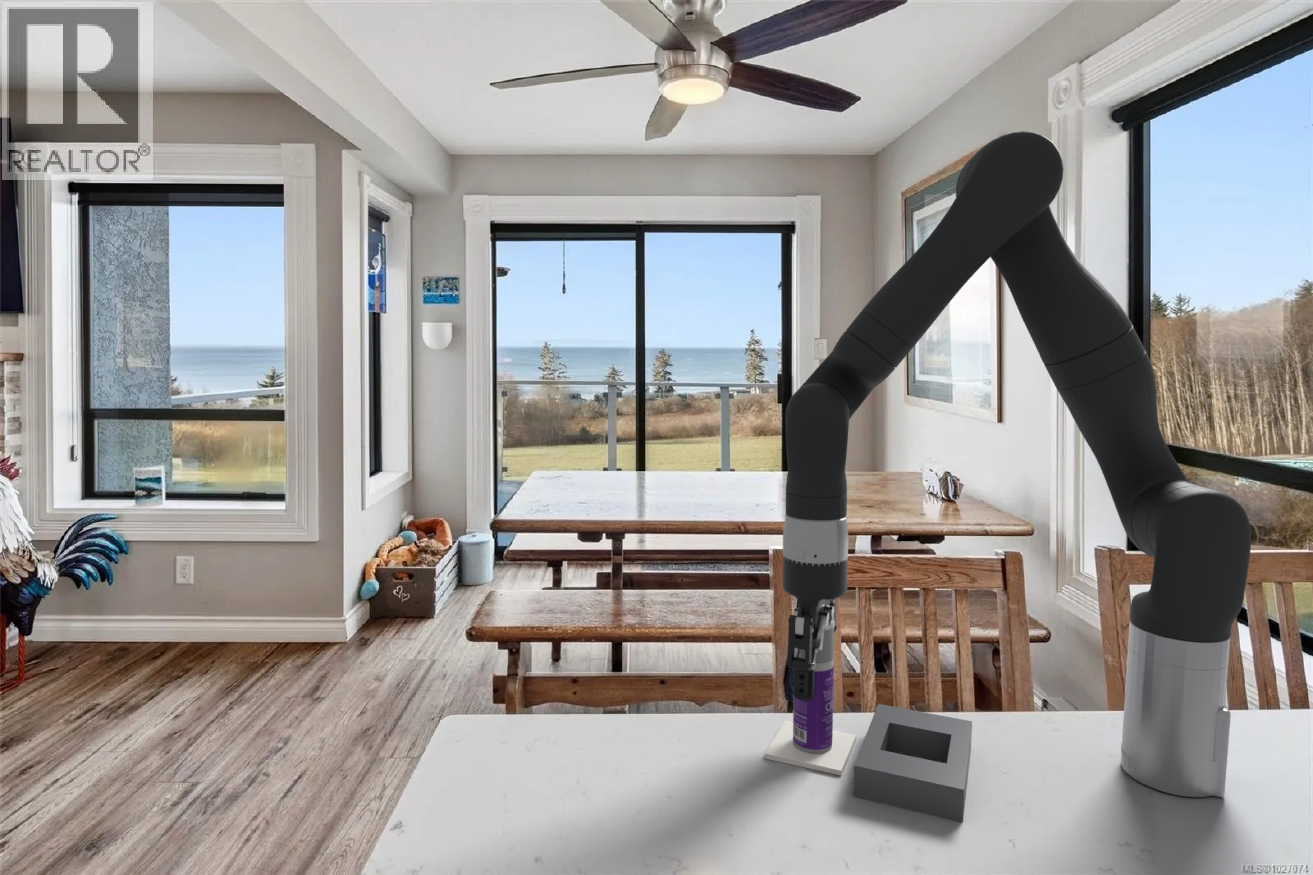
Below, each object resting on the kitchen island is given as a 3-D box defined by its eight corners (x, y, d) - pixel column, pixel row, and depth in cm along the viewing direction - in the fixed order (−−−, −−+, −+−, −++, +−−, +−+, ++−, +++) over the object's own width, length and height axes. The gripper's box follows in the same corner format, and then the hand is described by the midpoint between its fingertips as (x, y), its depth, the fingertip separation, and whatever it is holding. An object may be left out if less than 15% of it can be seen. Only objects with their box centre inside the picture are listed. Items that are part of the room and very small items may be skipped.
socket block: (970, 748, 92) (972, 721, 91) (962, 822, 77) (964, 789, 77) (877, 730, 96) (878, 703, 96) (853, 796, 82) (854, 765, 82)
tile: (856, 739, 94) (856, 735, 94) (841, 775, 86) (841, 770, 86) (785, 725, 98) (785, 720, 98) (764, 758, 90) (764, 753, 90)
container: (832, 755, 89) (835, 632, 88) (792, 752, 90) (793, 629, 88) (831, 736, 94) (834, 618, 92) (793, 733, 95) (794, 616, 93)
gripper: (834, 571, 81) (831, 716, 83) (858, 542, 94) (855, 668, 96) (766, 564, 85) (764, 703, 86) (799, 536, 97) (797, 658, 99)
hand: (812, 684), depth 91 cm, fingers open, 8 cm apart
